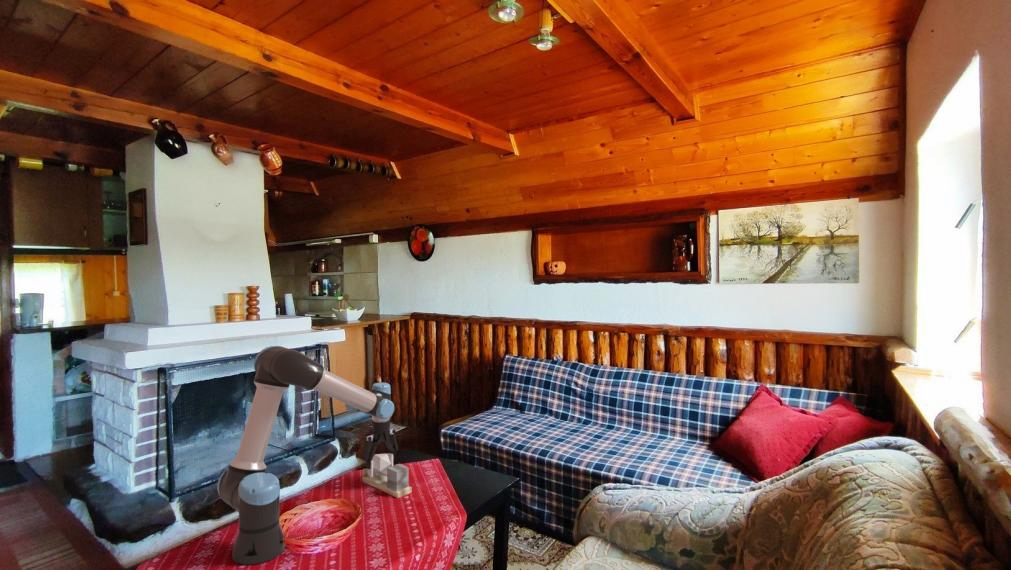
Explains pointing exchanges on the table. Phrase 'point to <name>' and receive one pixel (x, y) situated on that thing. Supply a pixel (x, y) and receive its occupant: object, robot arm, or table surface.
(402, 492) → the rail
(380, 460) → the die
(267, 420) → the robot arm
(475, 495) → the table surface
